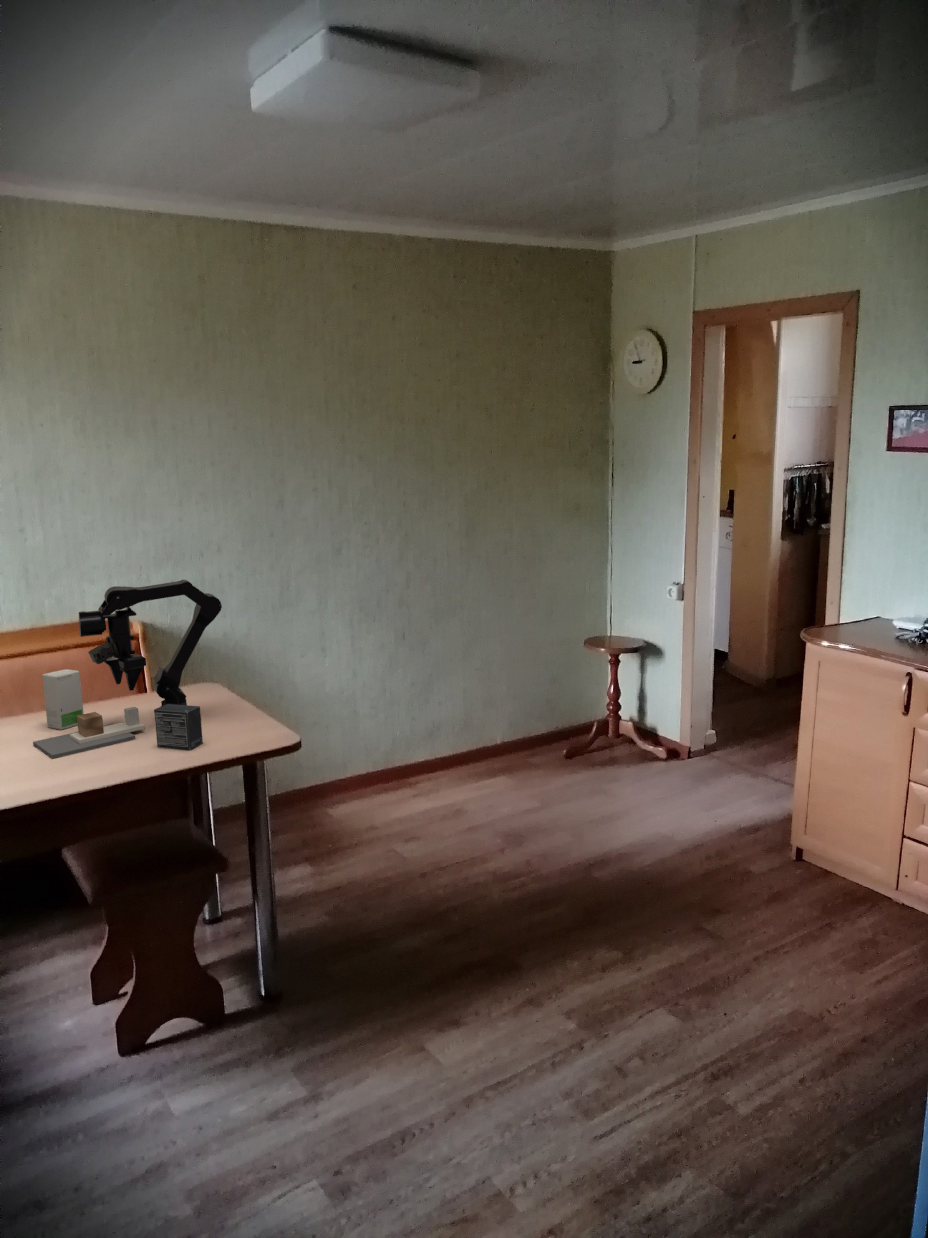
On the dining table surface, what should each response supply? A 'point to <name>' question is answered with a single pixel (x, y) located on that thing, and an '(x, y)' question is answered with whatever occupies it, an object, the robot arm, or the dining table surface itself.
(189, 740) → the small box
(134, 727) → the off-white strip
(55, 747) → the charcoal board
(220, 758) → the dining table surface
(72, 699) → the skincare box
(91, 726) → the walnut block
